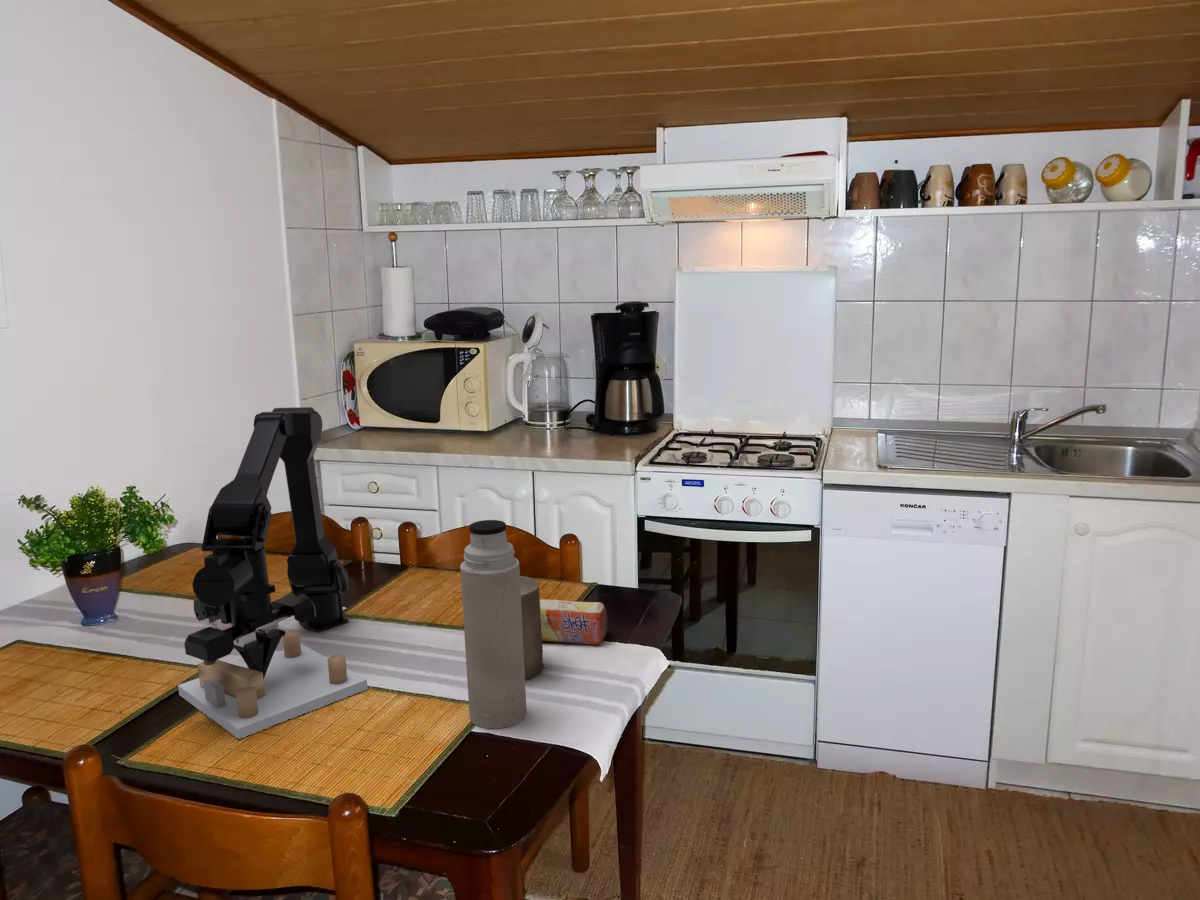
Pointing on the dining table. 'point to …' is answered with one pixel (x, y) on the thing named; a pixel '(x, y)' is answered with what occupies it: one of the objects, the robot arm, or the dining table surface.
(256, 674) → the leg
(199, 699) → the grey peg board
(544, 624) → the snack package
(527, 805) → the dining table surface
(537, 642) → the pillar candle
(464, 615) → the thermos bottle
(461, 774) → the dining table surface
